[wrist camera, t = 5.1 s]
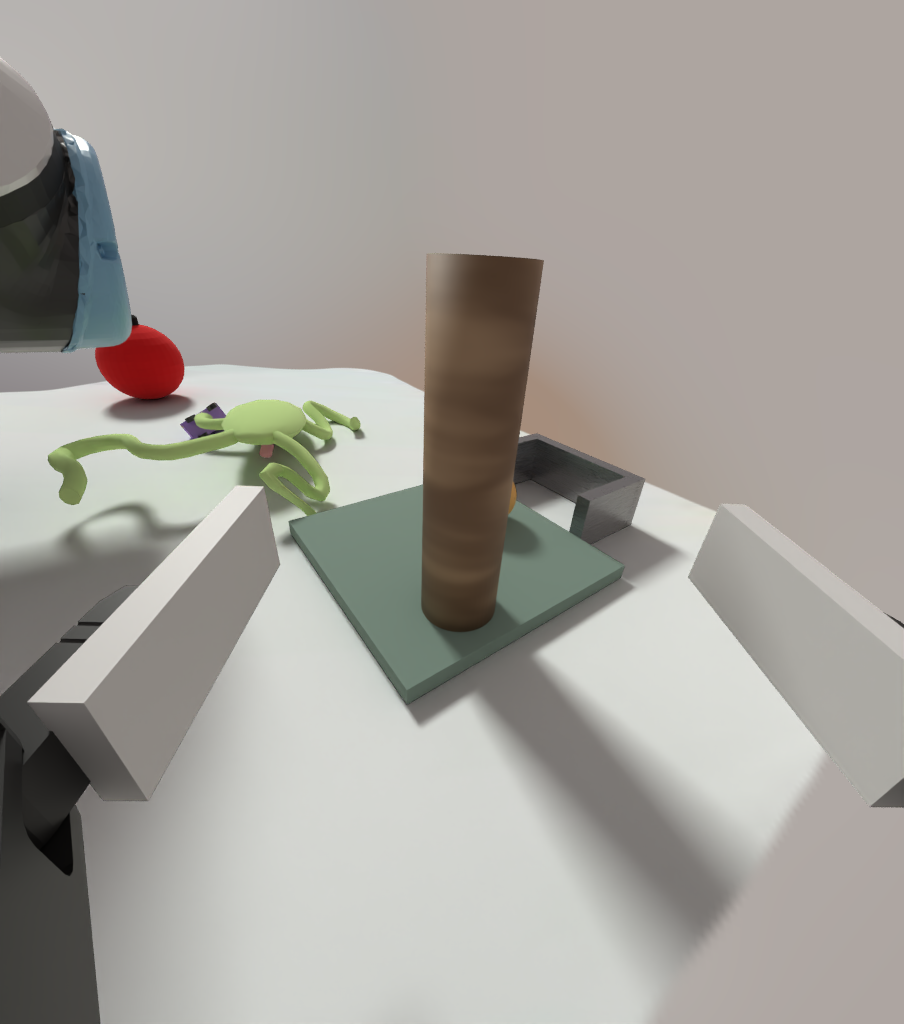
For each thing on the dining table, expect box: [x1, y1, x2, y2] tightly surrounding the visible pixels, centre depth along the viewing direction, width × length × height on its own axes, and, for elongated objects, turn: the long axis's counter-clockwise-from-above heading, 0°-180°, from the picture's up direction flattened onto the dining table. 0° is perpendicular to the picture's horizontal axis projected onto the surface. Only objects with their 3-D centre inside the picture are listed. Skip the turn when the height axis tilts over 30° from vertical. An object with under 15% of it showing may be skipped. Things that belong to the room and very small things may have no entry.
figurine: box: [48, 400, 360, 516], centre depth 37 cm, size 18×27×6 cm
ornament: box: [95, 315, 184, 399], centre depth 52 cm, size 9×9×10 cm
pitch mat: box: [289, 485, 625, 704], centre depth 27 cm, size 16×16×1 cm
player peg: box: [421, 253, 544, 632], centre depth 18 cm, size 4×4×16 cm
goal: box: [513, 434, 645, 544], centre depth 33 cm, size 6×11×4 cm, turn 36°
